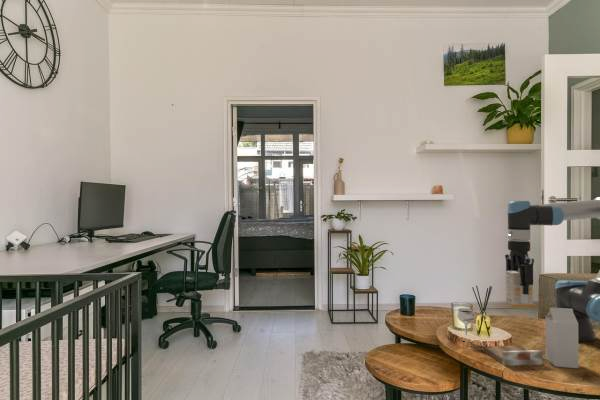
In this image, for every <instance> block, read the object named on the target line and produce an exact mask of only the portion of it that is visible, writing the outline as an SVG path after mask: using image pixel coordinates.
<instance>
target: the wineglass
mask: <svg viewBox="0 0 600 400" xmlns="http://www.w3.org/2000/svg"><path fill="white" fill-rule="evenodd" d="M475 312H476V310H475V309H471V308H463V307H462V308H461V307H459V308H457V313H456V314H457V315H456V317H457V319H458V320H459V321H460V322H461V323H462V324H463V325H464V329H465V336H466V335H467V336H468V325H469V324H471V323H473V322H475V319H476V314H475Z"/></svg>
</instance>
